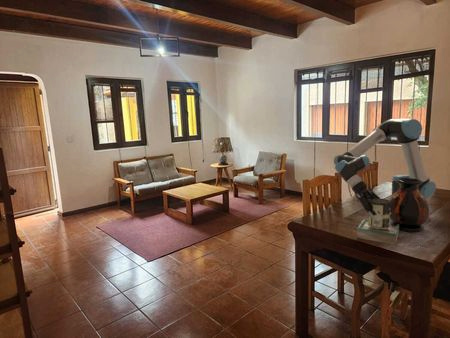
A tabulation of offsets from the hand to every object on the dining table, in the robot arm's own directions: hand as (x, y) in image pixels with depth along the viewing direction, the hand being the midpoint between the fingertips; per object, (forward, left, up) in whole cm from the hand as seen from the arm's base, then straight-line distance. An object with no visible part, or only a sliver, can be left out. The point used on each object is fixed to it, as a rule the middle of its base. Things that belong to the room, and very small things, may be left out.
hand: (384, 217), depth 158 cm
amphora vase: (-21, +9, -11) cm, 25 cm away
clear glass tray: (0, -3, -11) cm, 11 cm away
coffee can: (-1, -3, -6) cm, 6 cm away
